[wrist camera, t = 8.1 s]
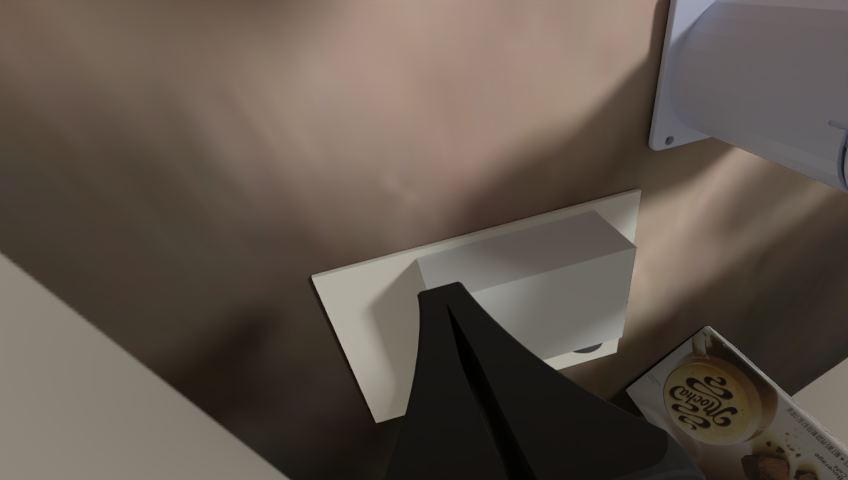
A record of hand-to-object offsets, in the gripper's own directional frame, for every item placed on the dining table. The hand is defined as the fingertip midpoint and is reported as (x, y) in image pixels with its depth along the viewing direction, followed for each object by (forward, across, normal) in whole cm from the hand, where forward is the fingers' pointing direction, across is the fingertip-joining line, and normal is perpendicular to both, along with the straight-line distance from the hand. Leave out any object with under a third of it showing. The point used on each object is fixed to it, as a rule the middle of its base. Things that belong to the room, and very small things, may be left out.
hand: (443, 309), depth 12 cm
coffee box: (+10, -21, +25) cm, 34 cm away
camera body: (+10, -6, +8) cm, 14 cm away
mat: (+10, -4, +12) cm, 16 cm away
